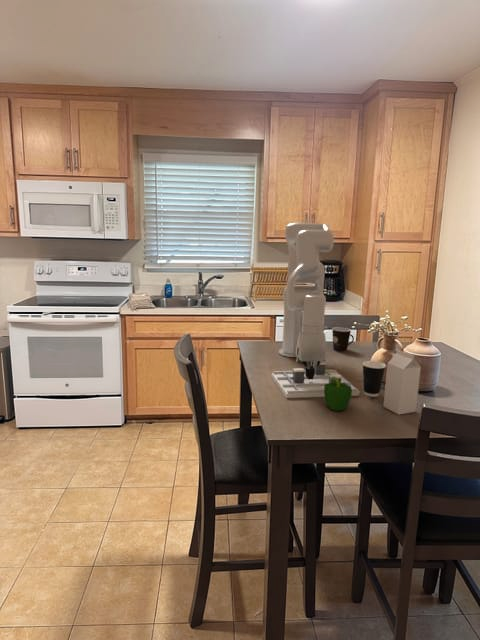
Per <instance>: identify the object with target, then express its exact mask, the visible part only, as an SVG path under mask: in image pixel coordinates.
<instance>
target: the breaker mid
mask: <svg viewBox="0 0 480 640" xmlns="http://www.w3.org/2000/svg"><path fill="white" fill-rule="evenodd" d="M305 370H306V369H304V368H303V367H301V368H300V367H298V368H297V367H296V368H295V367H293V368H292V371H293V382H294V383H302V382H304V375H305Z"/></svg>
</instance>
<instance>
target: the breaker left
mask: <svg viewBox="0 0 480 640" xmlns="http://www.w3.org/2000/svg"><path fill="white" fill-rule="evenodd" d="M326 364H327V363H326V362H325V363H321V364H319V365H318V366H317V367H316V369H315V375H325V370H326Z"/></svg>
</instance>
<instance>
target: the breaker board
mask: <svg viewBox="0 0 480 640" xmlns="http://www.w3.org/2000/svg"><path fill="white" fill-rule="evenodd" d="M304 370H305V371H306V369H304ZM329 375H340V376H341V383H346V384H347V385H348V386H351V389H352V393H351V397H354V396H355V397H357V396H360V390H359V388H357V387H355V386H354V385H352V383H351V382H350V381H348V380H347V379H346V378H344V377H343V375H342V374H340V373H339V372H337V370H336V369H325V375H315V376H313V379H310V380H309V379H308V378H307V377H306V376H305V375H304V382H302V383H294V382H293V370H278V371H277V370H273V371H272V373H271V378H272V379H273V381H274V383H276V385H277V387H278V388H279V390H280V391H281V393H282V394H283V395H284V396H285V398H286V399H298V398H299V399H300V398H322V397H323V398H325V395H324V386H325V385H326V383H327V384H329Z"/></svg>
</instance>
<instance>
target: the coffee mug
mask: <svg viewBox="0 0 480 640" xmlns="http://www.w3.org/2000/svg"><path fill="white" fill-rule="evenodd" d="M331 329H332V349H333V351H336V352H339V353H341V352H347V351H348V346H350V345H351V344H353V342H354V340H355V337H354V336H353V335H352V334H351V331H352V330H351V328H348V327H336V326H335V327H332V328H331ZM350 337H351V338H352V340H351V342H350V341H349V340H350ZM349 342H350V343H349Z"/></svg>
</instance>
